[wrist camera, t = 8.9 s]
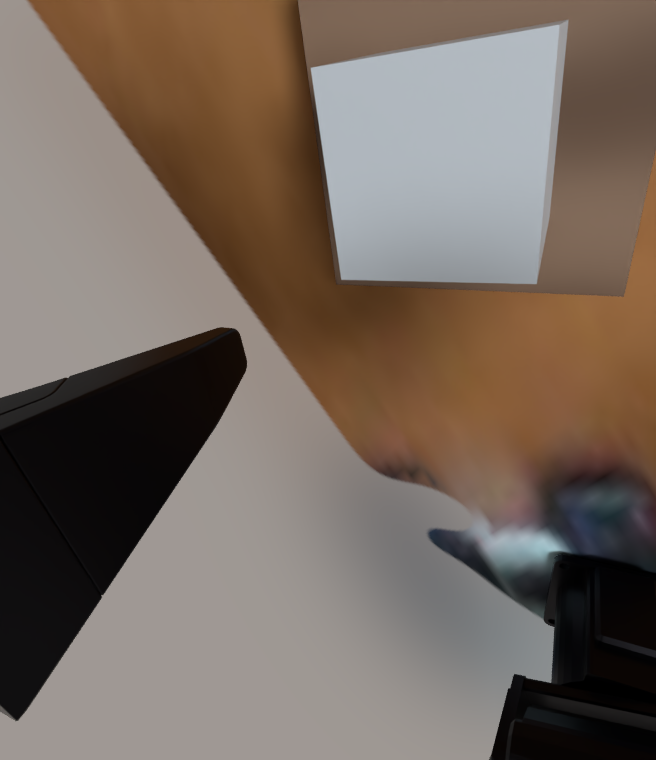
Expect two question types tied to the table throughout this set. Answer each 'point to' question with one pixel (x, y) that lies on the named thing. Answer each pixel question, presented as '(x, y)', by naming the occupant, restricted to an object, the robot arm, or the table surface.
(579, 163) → the brown block
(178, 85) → the table surface
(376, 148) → the grey-blue block
